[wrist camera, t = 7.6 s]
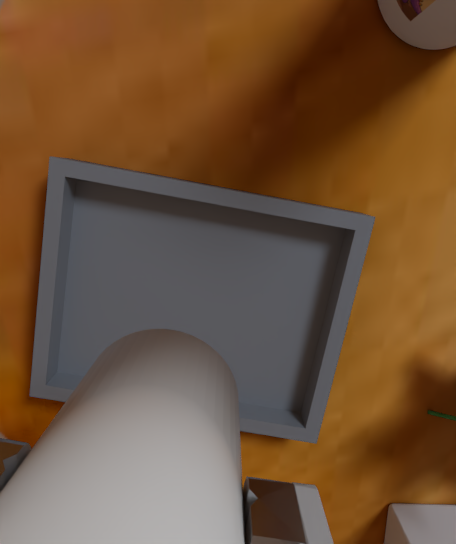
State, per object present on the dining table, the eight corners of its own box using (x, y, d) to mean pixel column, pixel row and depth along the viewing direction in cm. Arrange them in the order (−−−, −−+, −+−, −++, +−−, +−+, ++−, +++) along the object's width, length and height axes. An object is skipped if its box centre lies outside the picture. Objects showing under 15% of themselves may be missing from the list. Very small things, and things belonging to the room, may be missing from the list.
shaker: (251, 342, 12) (343, 1007, 2) (224, 478, 13) (213, 1337, 3) (92, 316, 12) (-492, 924, 2) (77, 456, 13) (-375, 1294, 3)
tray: (360, 212, 29) (375, 217, 26) (308, 419, 32) (316, 443, 29) (68, 158, 28) (49, 156, 25) (47, 375, 32) (29, 396, 29)
